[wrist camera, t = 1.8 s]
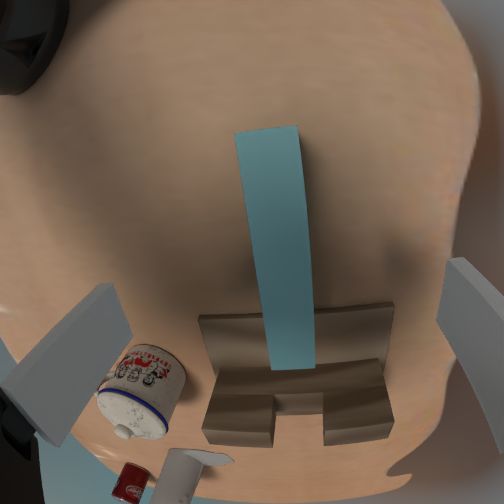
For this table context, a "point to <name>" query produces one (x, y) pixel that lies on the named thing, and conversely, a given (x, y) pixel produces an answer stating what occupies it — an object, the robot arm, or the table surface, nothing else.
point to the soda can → (130, 484)
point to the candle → (183, 474)
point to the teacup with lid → (142, 393)
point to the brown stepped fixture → (300, 378)
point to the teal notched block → (280, 242)
